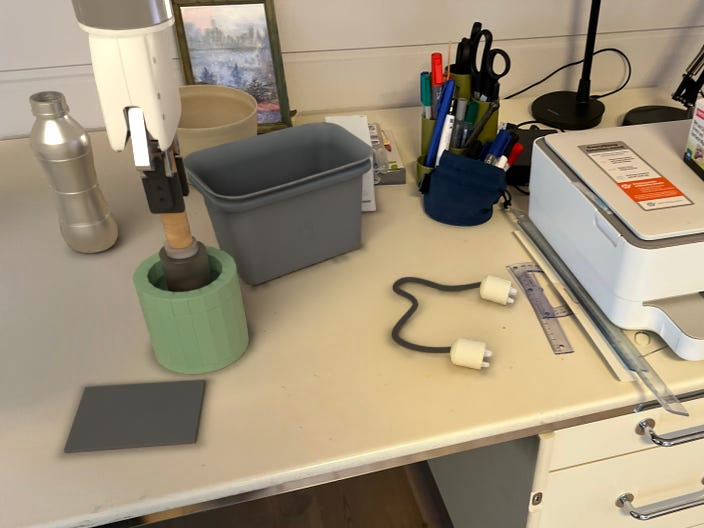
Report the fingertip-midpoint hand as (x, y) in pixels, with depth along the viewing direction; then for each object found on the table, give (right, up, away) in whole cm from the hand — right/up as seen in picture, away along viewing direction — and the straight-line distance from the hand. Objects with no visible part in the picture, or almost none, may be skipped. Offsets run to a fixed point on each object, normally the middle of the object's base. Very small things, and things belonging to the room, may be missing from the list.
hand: (170, 202), depth 74 cm
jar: (-1, -14, +12) cm, 18 cm away
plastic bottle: (-21, -1, +26) cm, 33 cm away
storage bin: (+5, -1, +27) cm, 28 cm away
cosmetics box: (+11, +9, +40) cm, 43 cm away
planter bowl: (-11, +13, +43) cm, 46 cm away
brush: (-1, -8, +7) cm, 11 cm away
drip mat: (-4, -21, +3) cm, 22 cm away
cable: (+26, -12, +17) cm, 33 cm away
